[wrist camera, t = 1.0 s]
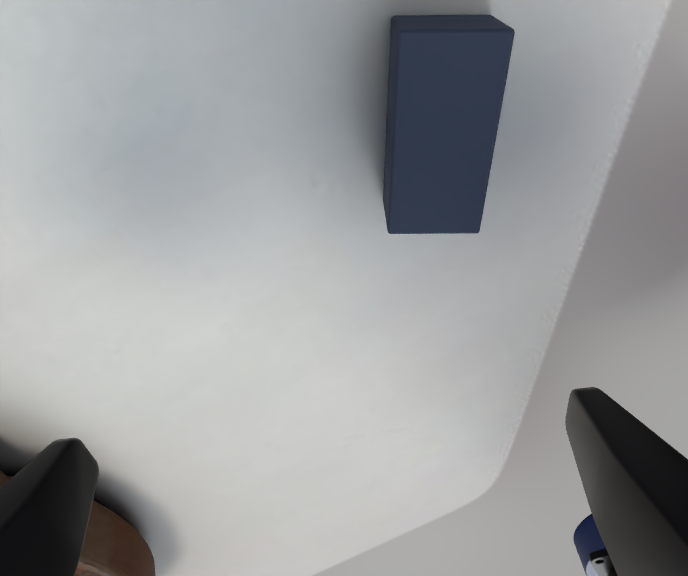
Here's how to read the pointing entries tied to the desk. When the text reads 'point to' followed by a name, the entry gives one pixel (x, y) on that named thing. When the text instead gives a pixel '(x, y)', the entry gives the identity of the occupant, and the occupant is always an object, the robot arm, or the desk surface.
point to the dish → (110, 545)
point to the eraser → (442, 120)
